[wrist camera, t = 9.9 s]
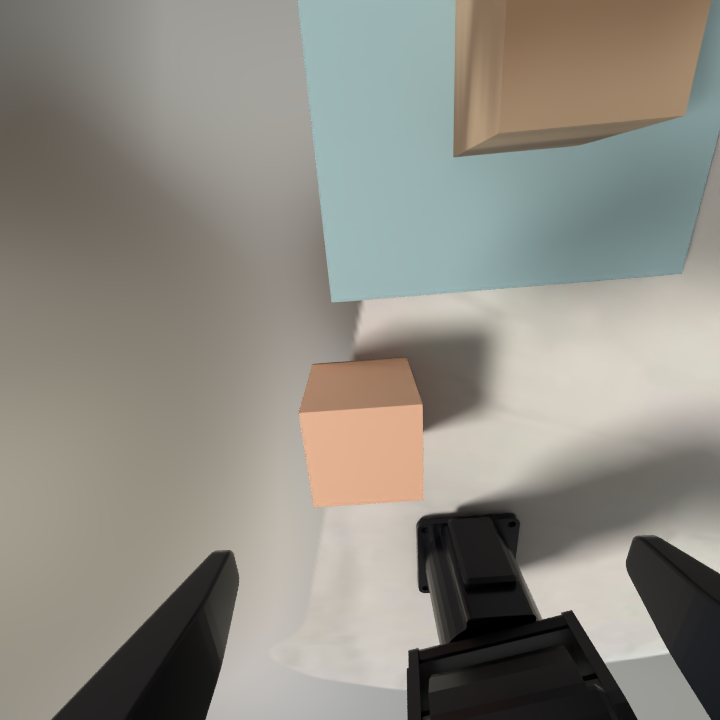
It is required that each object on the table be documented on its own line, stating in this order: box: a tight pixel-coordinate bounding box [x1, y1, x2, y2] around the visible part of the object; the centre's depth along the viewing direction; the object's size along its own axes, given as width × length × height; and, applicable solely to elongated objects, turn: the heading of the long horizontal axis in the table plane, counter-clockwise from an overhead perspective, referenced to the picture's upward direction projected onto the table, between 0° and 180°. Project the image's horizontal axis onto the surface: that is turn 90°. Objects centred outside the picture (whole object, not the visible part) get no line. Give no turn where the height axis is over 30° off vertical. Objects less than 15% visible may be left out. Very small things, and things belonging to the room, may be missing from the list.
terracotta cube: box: [299, 358, 423, 507], centre depth 18 cm, size 5×5×5 cm
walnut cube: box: [453, 0, 711, 157], centre depth 11 cm, size 5×5×5 cm
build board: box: [297, 0, 720, 302], centre depth 14 cm, size 16×16×1 cm
